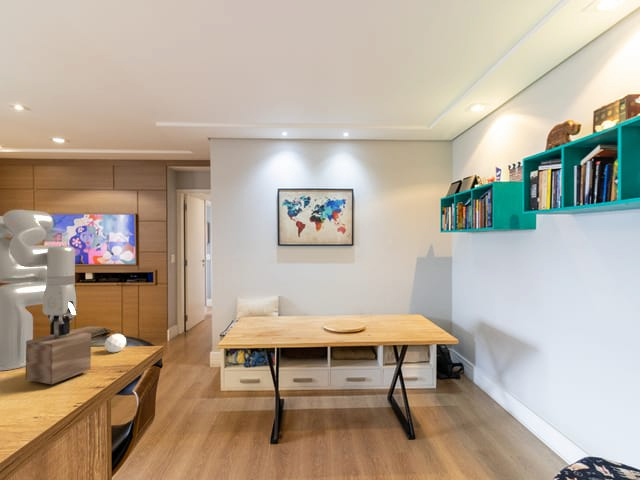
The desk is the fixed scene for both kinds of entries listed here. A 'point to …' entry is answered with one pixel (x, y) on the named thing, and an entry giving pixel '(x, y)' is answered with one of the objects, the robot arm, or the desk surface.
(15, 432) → the desk surface
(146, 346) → the desk surface
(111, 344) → the geometric ball
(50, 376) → the walnut cover
